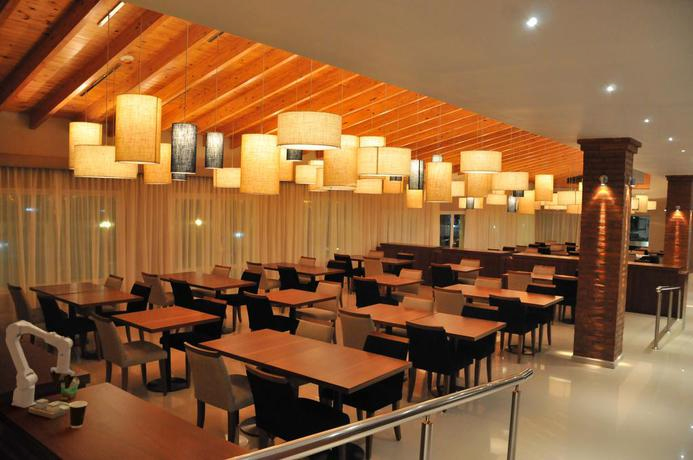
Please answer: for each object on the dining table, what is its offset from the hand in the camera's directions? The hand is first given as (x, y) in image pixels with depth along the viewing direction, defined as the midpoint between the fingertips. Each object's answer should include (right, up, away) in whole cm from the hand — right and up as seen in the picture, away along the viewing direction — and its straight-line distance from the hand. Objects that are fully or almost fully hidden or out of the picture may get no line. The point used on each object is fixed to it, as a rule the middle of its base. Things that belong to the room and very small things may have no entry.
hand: (61, 387), depth 275 cm
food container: (-2, -10, +13) cm, 17 cm away
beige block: (-6, -10, -9) cm, 15 cm away
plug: (+2, -11, -11) cm, 16 cm away
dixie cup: (+19, -13, -21) cm, 31 cm away
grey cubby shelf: (-2, -10, -10) cm, 15 cm away
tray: (-1, -10, -2) cm, 11 cm away
